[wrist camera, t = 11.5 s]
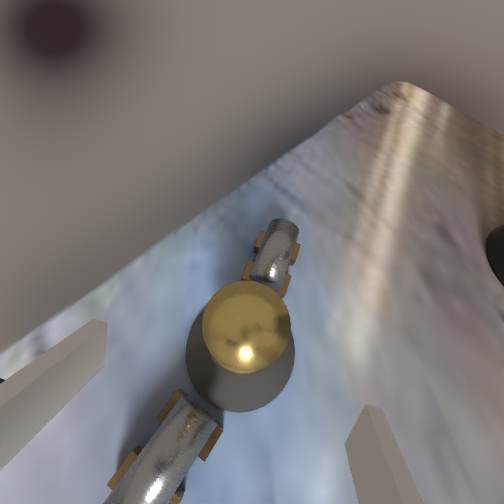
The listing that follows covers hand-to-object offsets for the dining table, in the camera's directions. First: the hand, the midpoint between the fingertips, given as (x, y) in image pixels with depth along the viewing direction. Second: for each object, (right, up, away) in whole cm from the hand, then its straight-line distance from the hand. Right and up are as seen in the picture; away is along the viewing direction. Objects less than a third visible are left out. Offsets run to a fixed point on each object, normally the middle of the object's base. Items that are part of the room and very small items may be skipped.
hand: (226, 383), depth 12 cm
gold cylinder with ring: (0, -3, +12) cm, 13 cm away
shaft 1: (-6, -10, +8) cm, 14 cm away
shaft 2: (+3, +5, +17) cm, 18 cm away
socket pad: (0, -3, +13) cm, 13 cm away
